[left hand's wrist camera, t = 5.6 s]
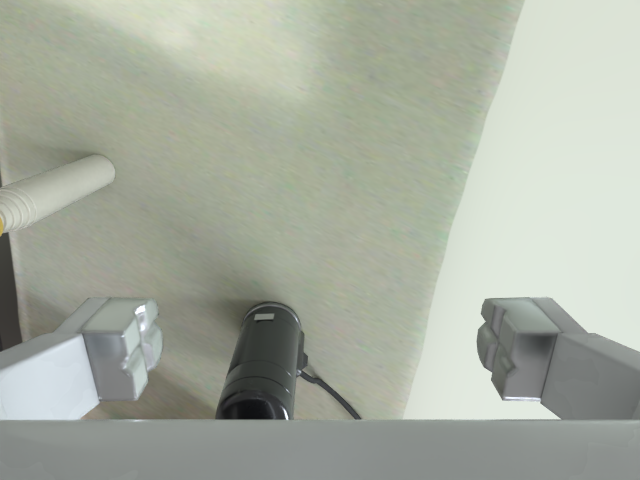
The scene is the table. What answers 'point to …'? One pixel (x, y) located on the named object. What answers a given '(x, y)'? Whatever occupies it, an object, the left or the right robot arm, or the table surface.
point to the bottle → (52, 191)
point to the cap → (1, 226)
